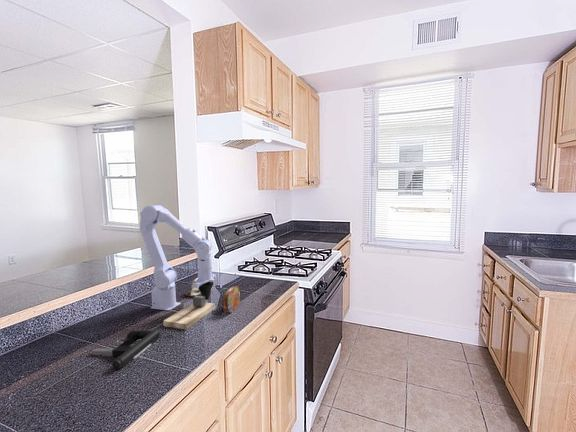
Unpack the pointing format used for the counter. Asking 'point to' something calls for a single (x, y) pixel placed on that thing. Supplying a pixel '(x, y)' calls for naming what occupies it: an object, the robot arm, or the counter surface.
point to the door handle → (129, 347)
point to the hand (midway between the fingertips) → (205, 299)
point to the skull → (194, 291)
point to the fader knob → (199, 301)
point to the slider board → (188, 316)
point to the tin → (231, 299)
